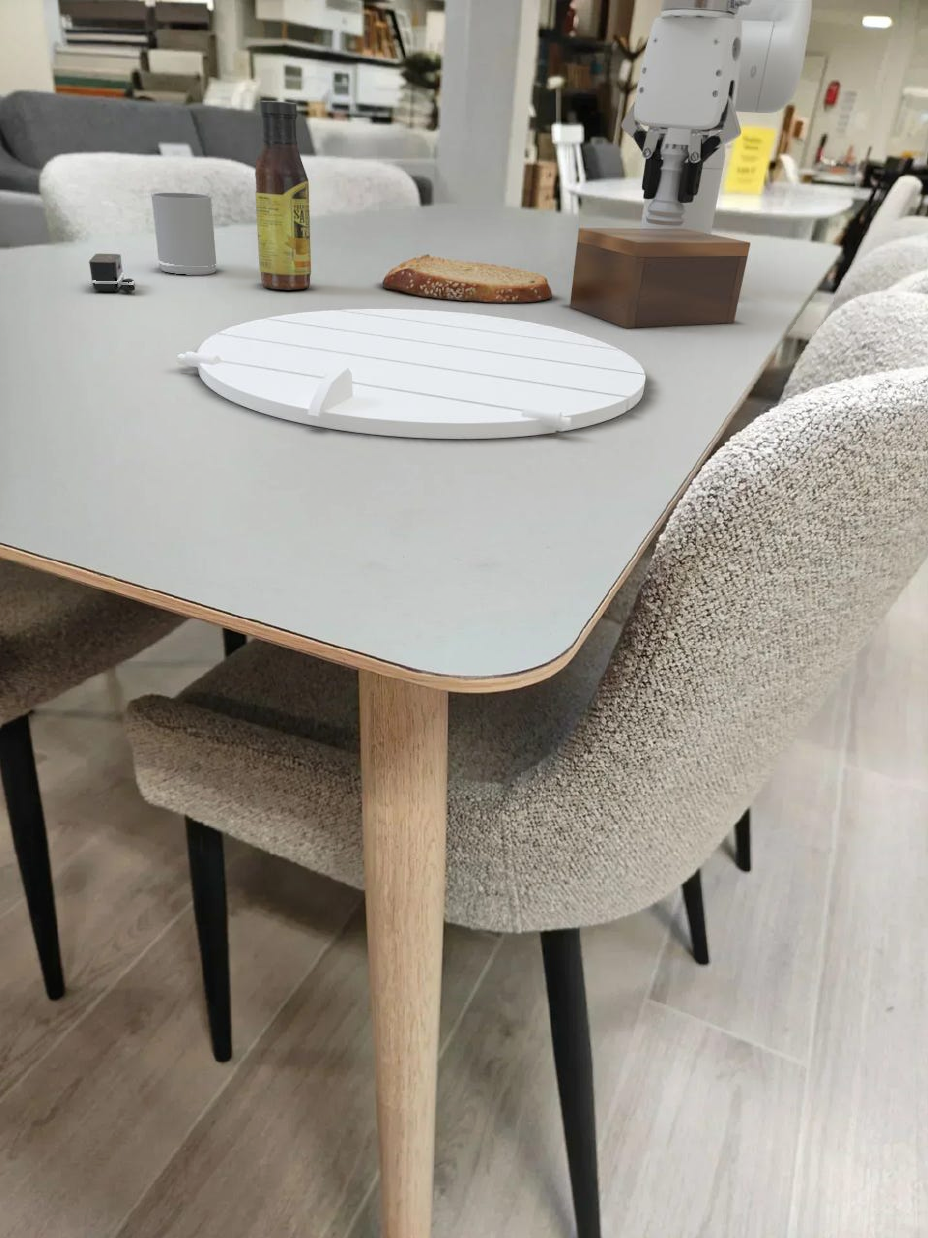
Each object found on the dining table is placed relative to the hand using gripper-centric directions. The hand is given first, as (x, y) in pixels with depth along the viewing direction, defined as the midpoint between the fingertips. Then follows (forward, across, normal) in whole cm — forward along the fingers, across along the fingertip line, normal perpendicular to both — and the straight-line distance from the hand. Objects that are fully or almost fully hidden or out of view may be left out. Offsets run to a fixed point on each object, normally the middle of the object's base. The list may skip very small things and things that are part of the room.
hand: (668, 198), depth 98 cm
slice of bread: (+13, +24, +5) cm, 27 cm away
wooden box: (+13, 0, -1) cm, 13 cm away
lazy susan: (+13, +5, +40) cm, 42 cm away
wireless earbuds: (+13, +51, +38) cm, 65 cm away
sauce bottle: (+13, +40, +21) cm, 47 cm away
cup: (+13, +56, +22) cm, 62 cm away
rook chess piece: (+3, 0, 0) cm, 3 cm away
